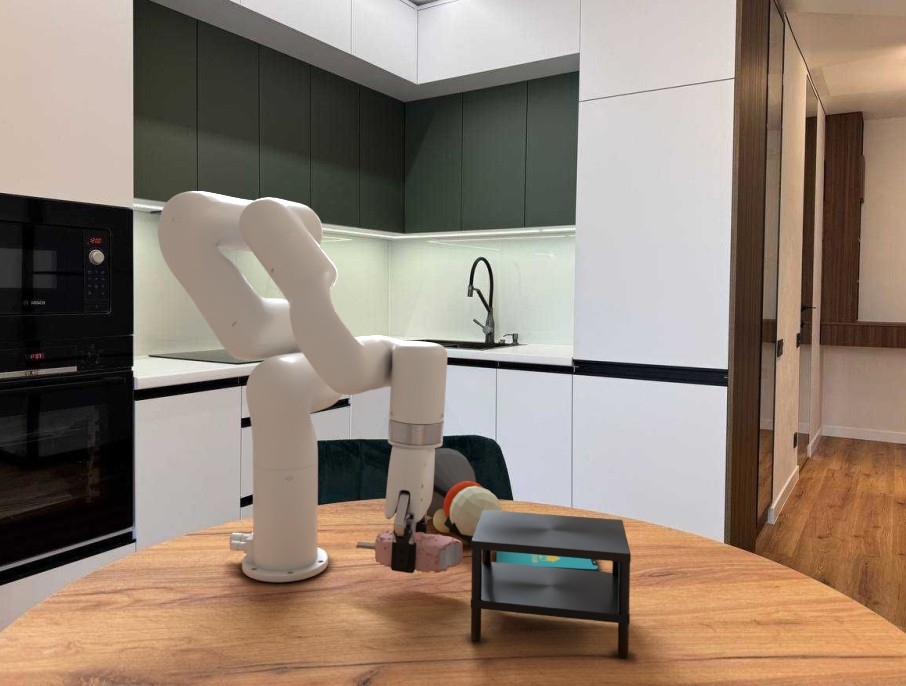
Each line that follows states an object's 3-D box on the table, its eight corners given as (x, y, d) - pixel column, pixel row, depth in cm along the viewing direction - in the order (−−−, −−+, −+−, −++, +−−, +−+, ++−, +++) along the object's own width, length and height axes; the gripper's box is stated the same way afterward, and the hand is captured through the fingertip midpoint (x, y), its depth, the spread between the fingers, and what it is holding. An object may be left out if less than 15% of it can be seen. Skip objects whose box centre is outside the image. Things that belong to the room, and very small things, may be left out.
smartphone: (496, 545, 110) (593, 550, 108) (496, 550, 110) (593, 555, 108) (495, 564, 103) (599, 569, 101) (495, 569, 103) (599, 575, 101)
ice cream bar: (362, 523, 100) (464, 532, 98) (361, 552, 100) (463, 562, 98) (351, 537, 94) (460, 547, 91) (350, 568, 94) (459, 579, 91)
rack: (470, 641, 82) (471, 540, 81) (482, 597, 94) (483, 509, 93) (629, 659, 78) (630, 554, 78) (620, 611, 90) (622, 519, 89)
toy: (367, 476, 133) (421, 538, 104) (401, 416, 134) (463, 462, 106) (439, 512, 138) (508, 580, 110) (470, 455, 140) (547, 508, 112)
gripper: (403, 418, 104) (397, 535, 105) (371, 443, 87) (364, 583, 88) (453, 422, 103) (446, 541, 103) (430, 449, 86) (422, 591, 87)
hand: (408, 559), depth 96 cm, fingers closed on ice cream bar, 6 cm apart
